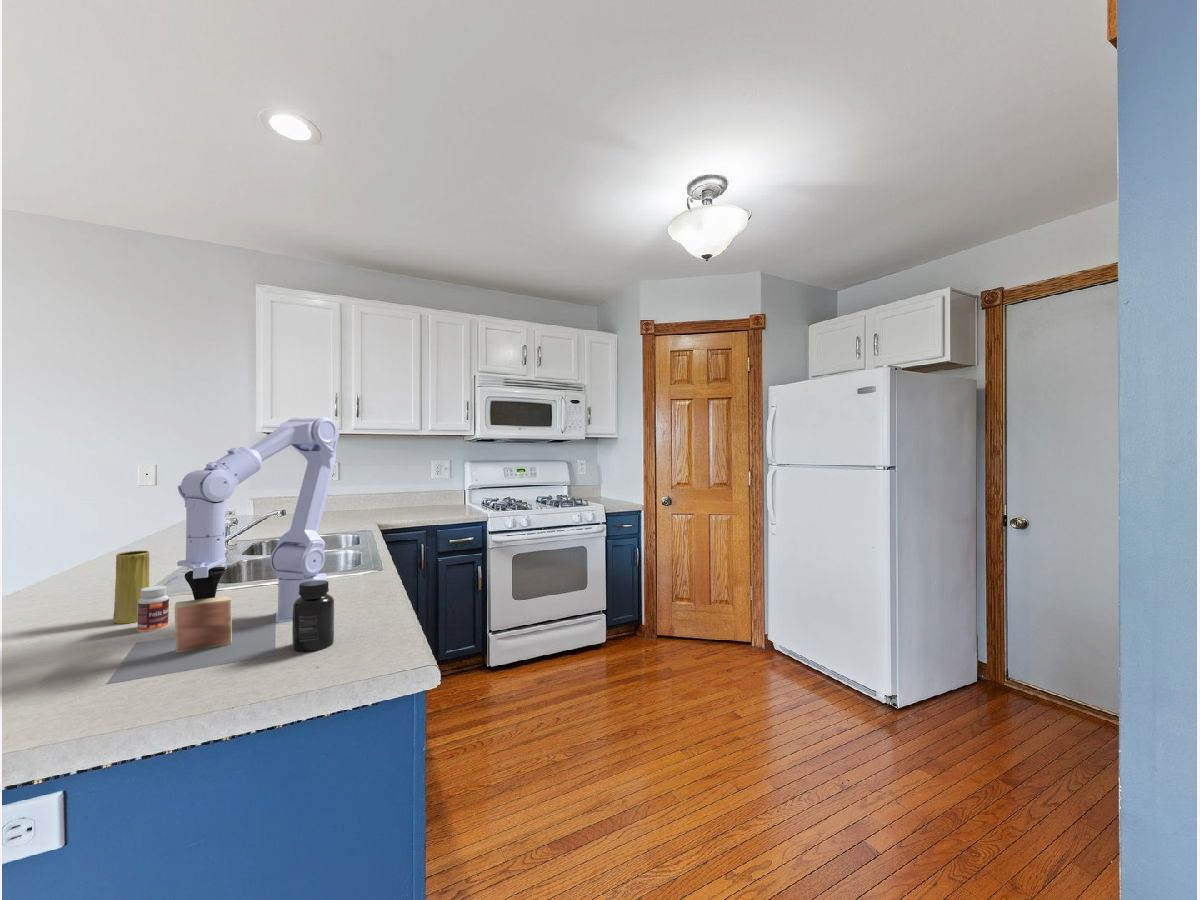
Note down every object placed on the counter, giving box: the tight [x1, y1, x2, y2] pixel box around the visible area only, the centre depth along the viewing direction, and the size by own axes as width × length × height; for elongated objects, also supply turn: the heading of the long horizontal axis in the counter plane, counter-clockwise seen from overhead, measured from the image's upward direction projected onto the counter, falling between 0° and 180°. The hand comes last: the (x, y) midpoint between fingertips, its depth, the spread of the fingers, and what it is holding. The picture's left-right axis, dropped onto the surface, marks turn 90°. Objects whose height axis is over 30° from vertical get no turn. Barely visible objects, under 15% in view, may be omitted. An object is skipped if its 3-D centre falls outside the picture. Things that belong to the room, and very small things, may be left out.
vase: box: [111, 550, 150, 625], centre depth 110 cm, size 6×6×14 cm
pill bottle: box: [137, 585, 170, 633], centre depth 104 cm, size 5×5×8 cm
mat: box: [106, 622, 277, 685], centre depth 93 cm, size 22×20×1 cm
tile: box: [174, 595, 233, 653], centre depth 93 cm, size 8×2×9 cm, turn 122°
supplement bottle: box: [291, 580, 335, 653], centre depth 96 cm, size 7×7×12 cm
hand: (204, 609), depth 94 cm, fingers closed
